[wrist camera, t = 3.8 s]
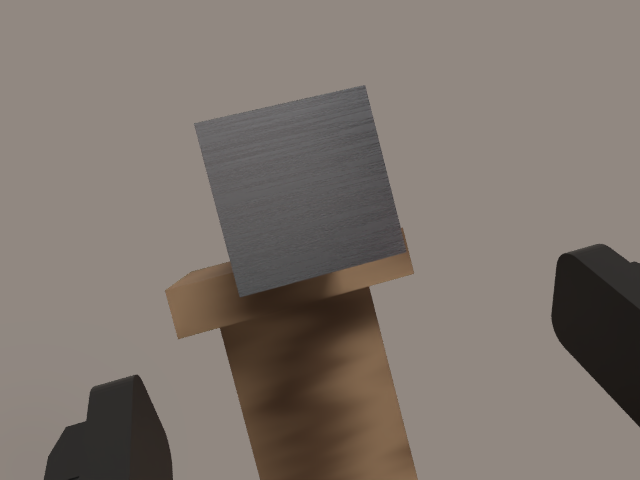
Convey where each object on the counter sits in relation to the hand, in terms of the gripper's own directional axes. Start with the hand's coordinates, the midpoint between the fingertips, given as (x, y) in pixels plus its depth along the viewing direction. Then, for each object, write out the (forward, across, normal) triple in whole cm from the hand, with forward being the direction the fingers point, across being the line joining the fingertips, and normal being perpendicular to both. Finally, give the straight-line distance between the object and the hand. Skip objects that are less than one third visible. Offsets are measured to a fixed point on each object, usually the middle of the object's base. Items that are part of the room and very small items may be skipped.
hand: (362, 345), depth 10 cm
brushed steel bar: (+13, 0, +6) cm, 15 cm away
